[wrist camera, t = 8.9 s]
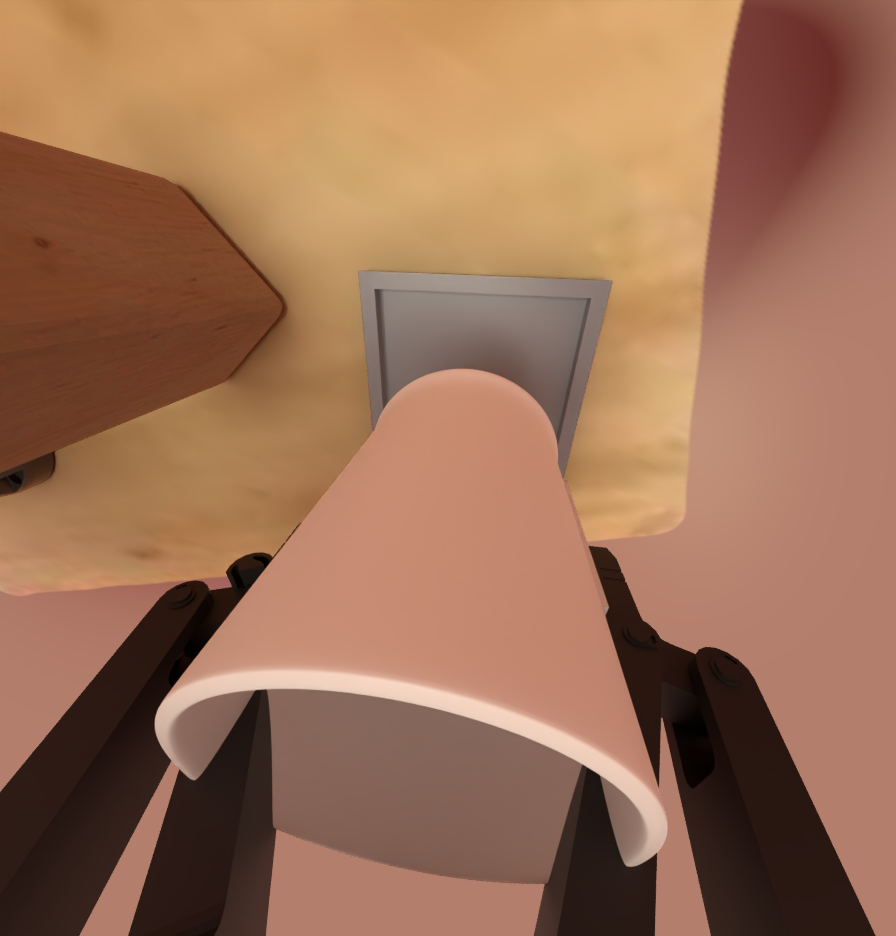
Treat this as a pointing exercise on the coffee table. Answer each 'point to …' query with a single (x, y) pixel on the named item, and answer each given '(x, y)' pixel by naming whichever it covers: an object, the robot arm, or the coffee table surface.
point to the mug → (432, 653)
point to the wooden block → (109, 298)
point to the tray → (485, 335)
